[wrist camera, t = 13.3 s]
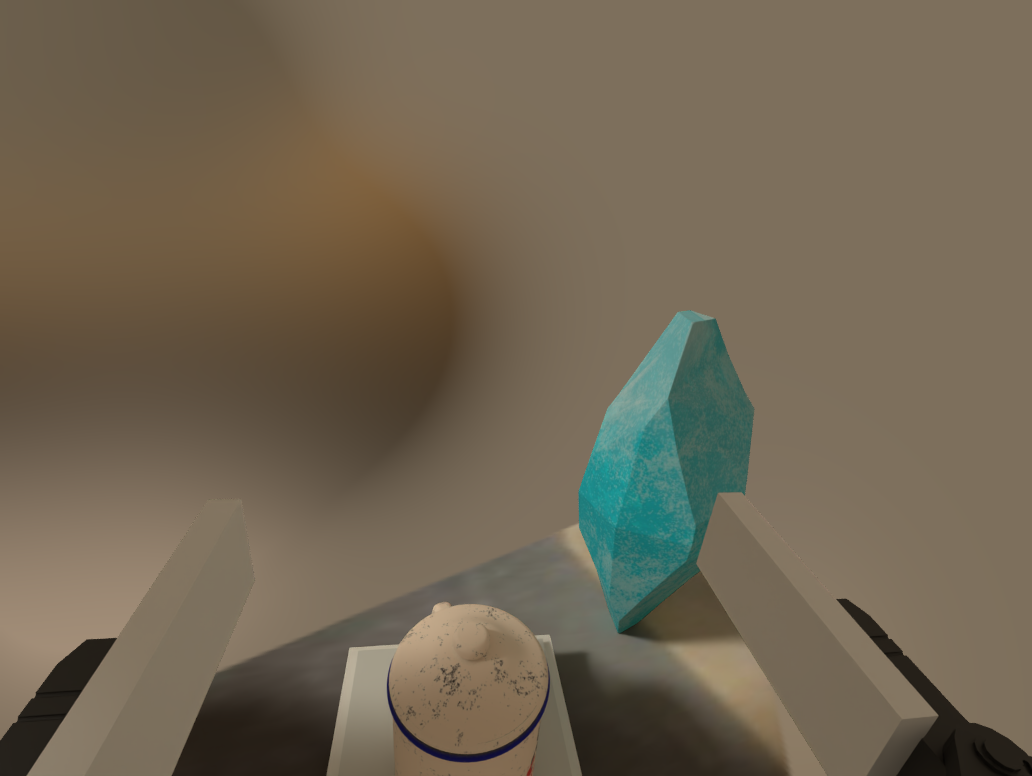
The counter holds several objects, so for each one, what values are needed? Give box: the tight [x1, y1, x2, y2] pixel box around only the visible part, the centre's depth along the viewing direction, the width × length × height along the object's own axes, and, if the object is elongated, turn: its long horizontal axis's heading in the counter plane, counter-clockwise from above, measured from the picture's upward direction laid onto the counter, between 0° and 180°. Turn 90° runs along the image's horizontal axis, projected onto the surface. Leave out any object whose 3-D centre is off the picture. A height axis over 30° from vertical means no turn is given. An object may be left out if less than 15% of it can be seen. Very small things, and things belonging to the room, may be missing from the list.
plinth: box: [326, 635, 582, 776], centre depth 34 cm, size 16×16×4 cm
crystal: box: [579, 310, 754, 633], centre depth 42 cm, size 12×14×30 cm
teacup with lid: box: [387, 602, 550, 776], centre depth 31 cm, size 12×9×12 cm
